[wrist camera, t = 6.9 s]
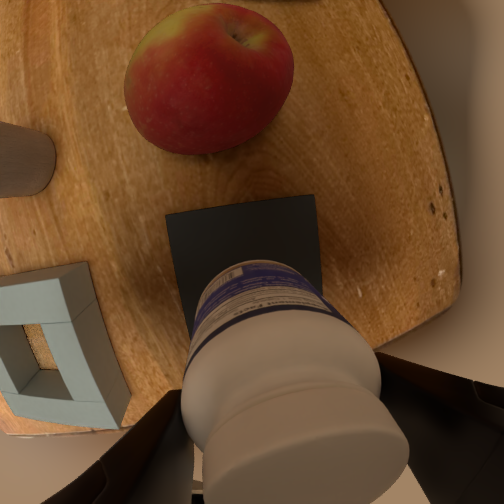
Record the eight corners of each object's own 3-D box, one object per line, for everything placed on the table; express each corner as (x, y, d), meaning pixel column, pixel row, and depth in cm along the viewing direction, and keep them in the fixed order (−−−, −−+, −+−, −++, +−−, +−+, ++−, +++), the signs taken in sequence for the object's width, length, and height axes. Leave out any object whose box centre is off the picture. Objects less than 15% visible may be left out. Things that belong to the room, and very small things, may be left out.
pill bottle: (318, 355, 13) (406, 504, 4) (209, 374, 13) (208, 550, 4) (311, 247, 12) (468, 350, 3) (185, 266, 12) (114, 428, 3)
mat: (322, 326, 20) (324, 328, 19) (193, 347, 19) (192, 350, 19) (312, 194, 18) (314, 194, 17) (166, 214, 17) (164, 215, 17)
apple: (277, 161, 17) (320, 139, 9) (143, 165, 16) (85, 147, 8) (274, 52, 15) (306, -21, 8) (149, 55, 15) (112, -14, 7)
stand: (131, 396, 19) (119, 429, 15) (33, 391, 19) (14, 415, 15) (87, 261, 17) (58, 277, 13) (-11, 278, 16) (-41, 293, 12)
